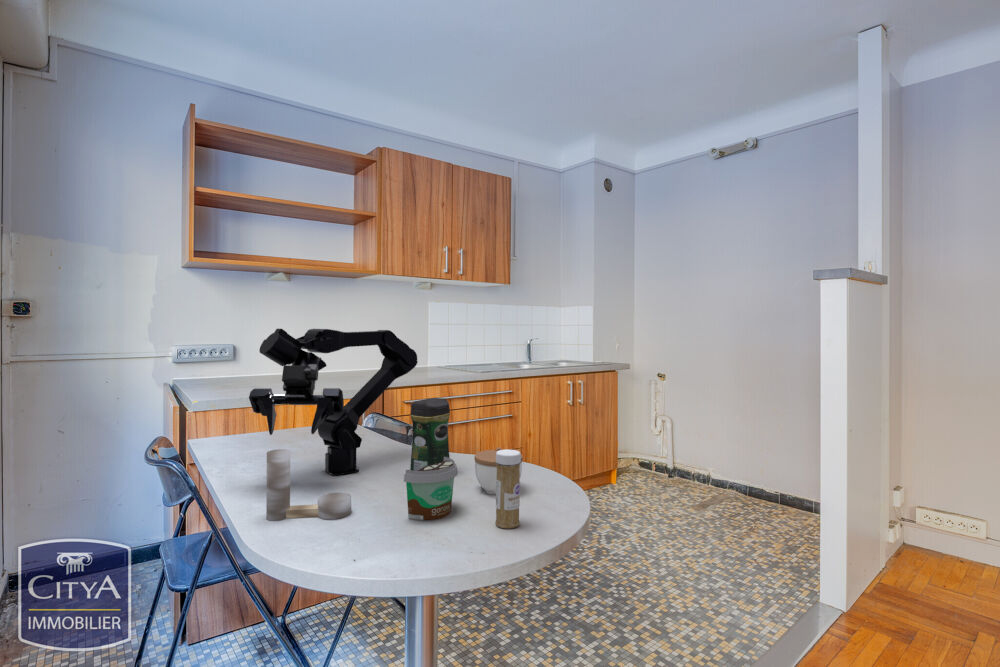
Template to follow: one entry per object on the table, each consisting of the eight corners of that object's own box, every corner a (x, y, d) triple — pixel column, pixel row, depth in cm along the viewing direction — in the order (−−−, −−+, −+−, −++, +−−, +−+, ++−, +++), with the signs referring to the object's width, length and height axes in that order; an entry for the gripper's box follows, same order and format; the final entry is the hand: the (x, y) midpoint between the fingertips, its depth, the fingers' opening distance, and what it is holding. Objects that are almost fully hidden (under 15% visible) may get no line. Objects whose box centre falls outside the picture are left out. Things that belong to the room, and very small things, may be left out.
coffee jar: (431, 467, 131) (431, 394, 131) (455, 472, 126) (455, 397, 126) (403, 476, 123) (404, 399, 123) (428, 482, 118) (429, 402, 118)
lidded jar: (530, 494, 110) (531, 451, 110) (484, 500, 106) (484, 455, 106) (510, 480, 120) (511, 441, 120) (467, 485, 116) (468, 444, 116)
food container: (429, 532, 90) (429, 475, 89) (403, 524, 93) (403, 470, 93) (470, 511, 100) (470, 460, 100) (445, 505, 103) (445, 456, 103)
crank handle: (352, 507, 100) (353, 445, 99) (349, 518, 94) (350, 453, 94) (270, 511, 97) (271, 448, 97) (262, 523, 91) (262, 456, 91)
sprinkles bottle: (516, 530, 91) (516, 455, 91) (491, 527, 92) (492, 453, 92) (522, 521, 95) (523, 449, 95) (499, 518, 96) (500, 447, 96)
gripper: (252, 350, 109) (234, 410, 98) (343, 351, 112) (335, 409, 101) (262, 383, 117) (246, 442, 106) (346, 383, 120) (339, 440, 109)
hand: (291, 433), depth 105 cm, fingers open, 8 cm apart
